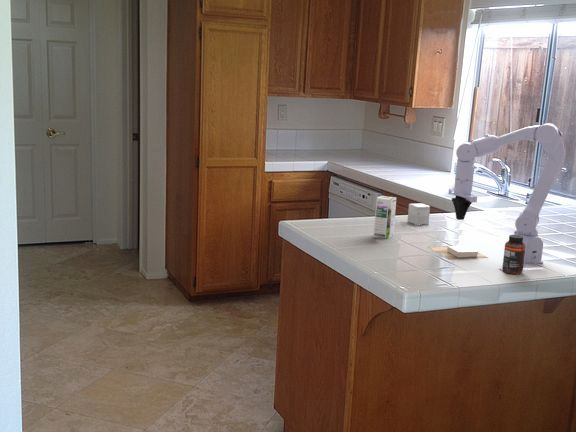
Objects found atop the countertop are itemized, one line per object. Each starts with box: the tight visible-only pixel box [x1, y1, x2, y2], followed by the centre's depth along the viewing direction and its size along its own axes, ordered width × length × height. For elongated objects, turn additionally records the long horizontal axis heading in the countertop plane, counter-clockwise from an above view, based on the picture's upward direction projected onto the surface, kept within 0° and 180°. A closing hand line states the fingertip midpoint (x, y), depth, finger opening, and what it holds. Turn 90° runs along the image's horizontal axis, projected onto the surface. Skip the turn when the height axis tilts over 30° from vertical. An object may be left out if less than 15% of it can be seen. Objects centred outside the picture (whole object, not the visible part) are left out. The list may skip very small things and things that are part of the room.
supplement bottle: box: [501, 234, 525, 275], centre depth 200 cm, size 6×6×11 cm
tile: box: [447, 245, 479, 258], centre depth 216 cm, size 2×7×7 cm
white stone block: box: [406, 203, 431, 226], centre depth 260 cm, size 6×6×7 cm
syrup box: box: [373, 195, 397, 239], centre depth 235 cm, size 6×6×14 cm
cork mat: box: [428, 244, 489, 260], centre depth 219 cm, size 15×14×1 cm
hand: (460, 219), depth 223 cm, fingers closed
